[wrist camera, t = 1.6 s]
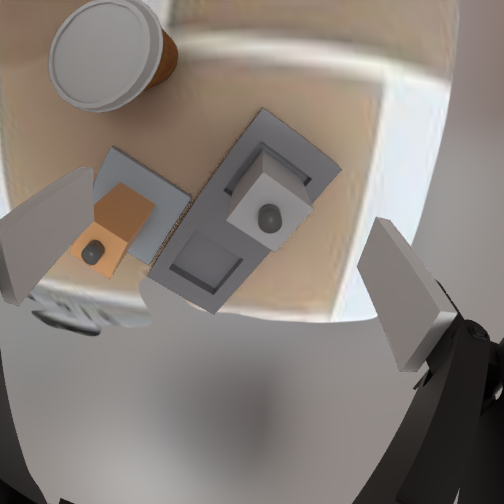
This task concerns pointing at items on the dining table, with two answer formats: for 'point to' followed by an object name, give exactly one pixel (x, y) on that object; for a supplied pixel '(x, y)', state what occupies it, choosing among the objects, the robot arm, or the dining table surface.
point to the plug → (112, 229)
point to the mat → (152, 188)
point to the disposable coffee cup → (109, 54)
